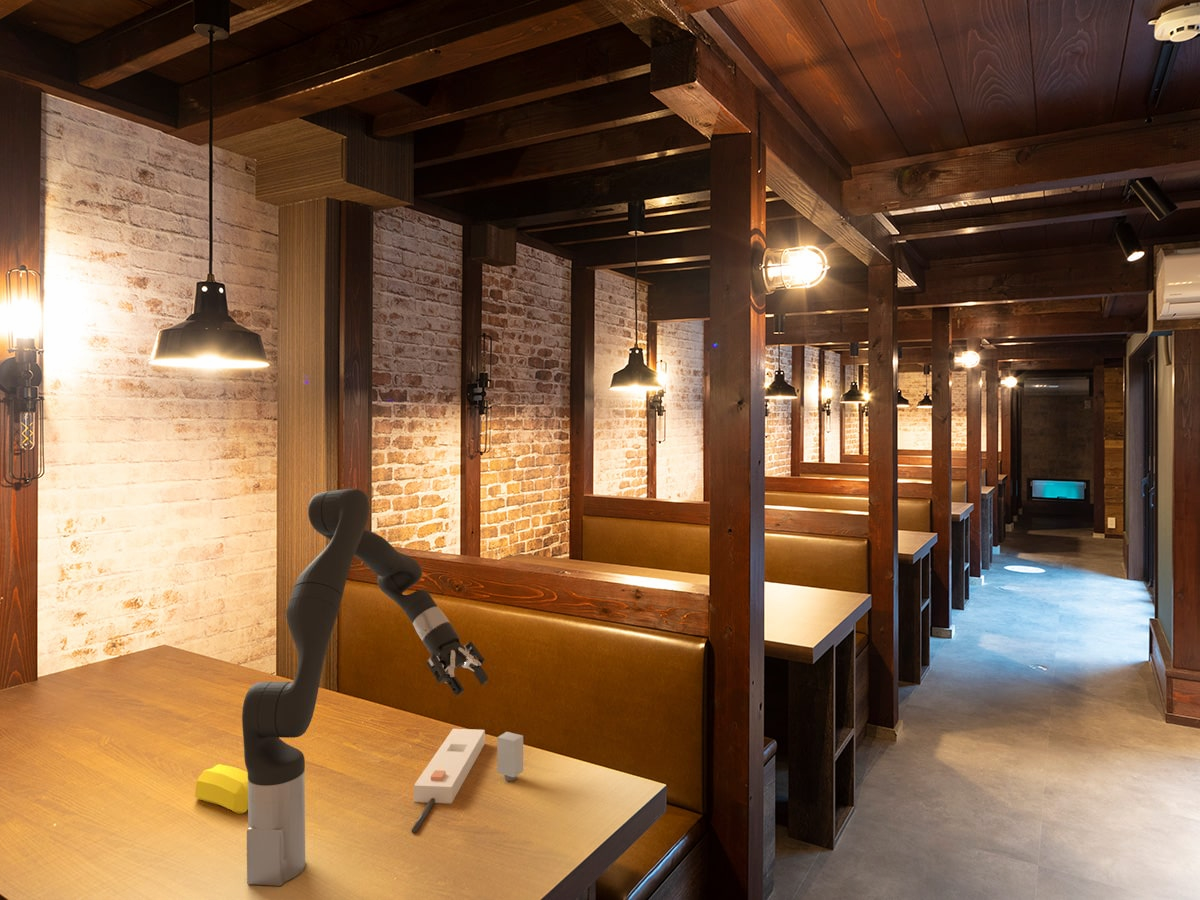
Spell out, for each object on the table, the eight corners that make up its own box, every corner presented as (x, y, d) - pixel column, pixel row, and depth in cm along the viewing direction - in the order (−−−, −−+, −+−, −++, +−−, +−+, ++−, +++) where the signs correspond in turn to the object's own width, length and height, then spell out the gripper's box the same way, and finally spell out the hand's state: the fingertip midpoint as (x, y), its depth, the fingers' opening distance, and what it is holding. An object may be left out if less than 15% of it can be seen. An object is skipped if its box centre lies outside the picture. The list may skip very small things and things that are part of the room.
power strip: (434, 834, 146) (434, 812, 146) (393, 832, 147) (393, 810, 147) (484, 743, 188) (484, 726, 188) (452, 742, 189) (452, 725, 188)
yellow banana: (219, 785, 166) (185, 800, 159) (218, 755, 166) (185, 769, 159) (275, 804, 158) (242, 821, 151) (275, 772, 158) (242, 788, 151)
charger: (523, 778, 170) (523, 735, 169) (514, 784, 167) (514, 741, 166) (506, 773, 172) (506, 731, 172) (497, 779, 169) (497, 737, 168)
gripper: (422, 628, 172) (461, 687, 167) (464, 615, 184) (502, 669, 179) (405, 647, 175) (443, 706, 169) (447, 633, 187) (484, 688, 182)
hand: (473, 687), depth 174 cm, fingers open, 8 cm apart
